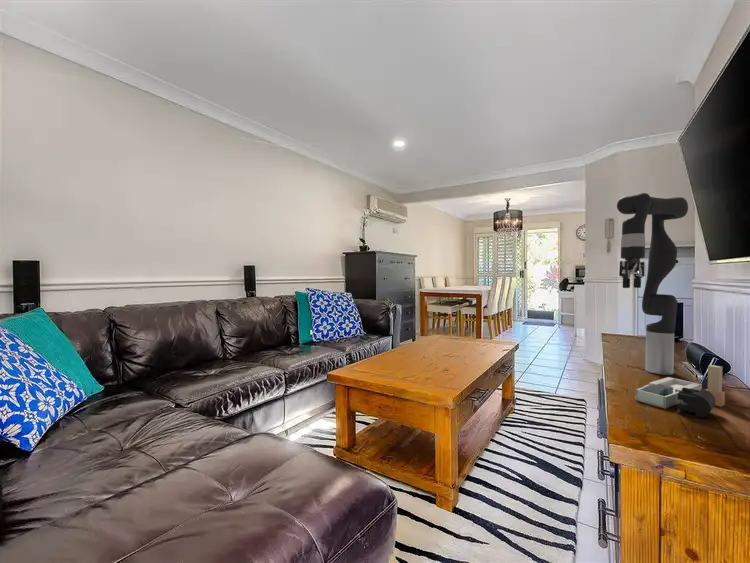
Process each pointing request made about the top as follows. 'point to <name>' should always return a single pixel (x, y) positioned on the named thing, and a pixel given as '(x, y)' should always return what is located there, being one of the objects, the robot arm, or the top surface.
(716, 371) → the two-tone stepped bar
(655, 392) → the dark grey cube
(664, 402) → the tray
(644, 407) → the top surface
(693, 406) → the end cap
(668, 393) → the grey cube block
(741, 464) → the top surface
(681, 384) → the slot board
